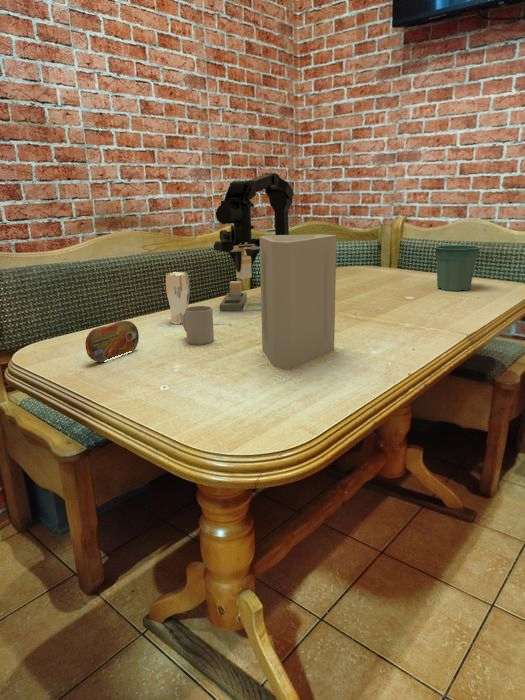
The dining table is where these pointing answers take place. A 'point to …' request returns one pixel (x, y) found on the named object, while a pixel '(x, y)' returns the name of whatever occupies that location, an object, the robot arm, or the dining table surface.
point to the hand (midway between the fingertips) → (243, 271)
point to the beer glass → (177, 294)
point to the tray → (252, 307)
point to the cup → (198, 324)
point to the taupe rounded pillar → (297, 297)
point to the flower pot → (455, 266)
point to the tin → (111, 340)
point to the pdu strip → (234, 298)
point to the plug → (245, 268)
